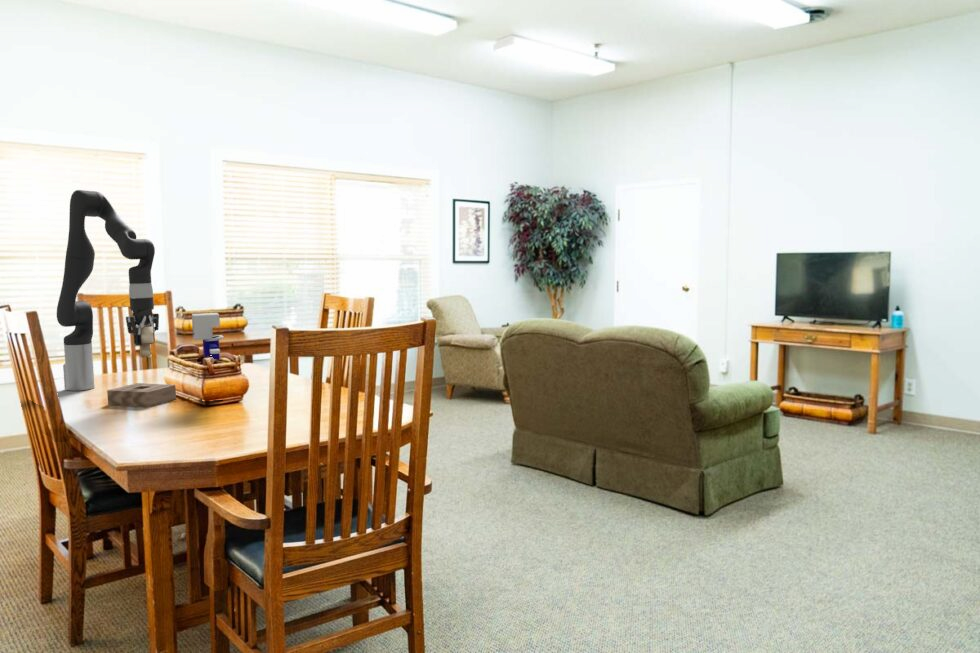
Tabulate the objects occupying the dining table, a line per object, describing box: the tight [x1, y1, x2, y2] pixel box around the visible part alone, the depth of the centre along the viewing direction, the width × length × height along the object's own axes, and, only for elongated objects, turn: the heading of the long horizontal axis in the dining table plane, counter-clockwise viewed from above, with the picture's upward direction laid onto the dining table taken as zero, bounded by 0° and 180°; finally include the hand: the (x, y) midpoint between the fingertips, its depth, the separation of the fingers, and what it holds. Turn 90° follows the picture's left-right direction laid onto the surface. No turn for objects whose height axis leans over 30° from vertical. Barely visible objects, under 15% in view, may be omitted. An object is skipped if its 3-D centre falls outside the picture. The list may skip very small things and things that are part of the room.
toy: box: [191, 312, 224, 359], centre depth 257 cm, size 35×10×30 cm, turn 25°
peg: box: [136, 326, 155, 358], centre depth 260 cm, size 6×6×10 cm
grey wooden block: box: [106, 382, 177, 408], centre depth 256 cm, size 16×14×5 cm
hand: (144, 344), depth 260 cm, fingers closed on peg, 6 cm apart
